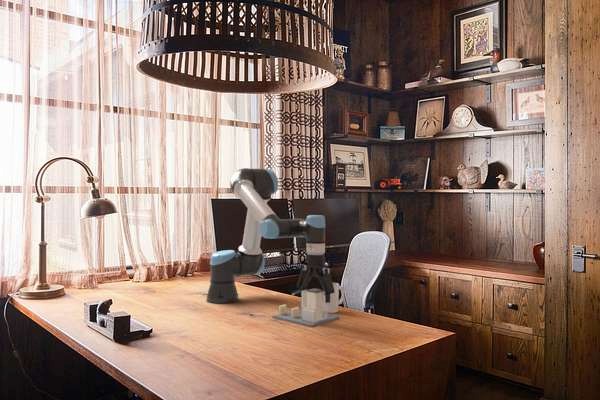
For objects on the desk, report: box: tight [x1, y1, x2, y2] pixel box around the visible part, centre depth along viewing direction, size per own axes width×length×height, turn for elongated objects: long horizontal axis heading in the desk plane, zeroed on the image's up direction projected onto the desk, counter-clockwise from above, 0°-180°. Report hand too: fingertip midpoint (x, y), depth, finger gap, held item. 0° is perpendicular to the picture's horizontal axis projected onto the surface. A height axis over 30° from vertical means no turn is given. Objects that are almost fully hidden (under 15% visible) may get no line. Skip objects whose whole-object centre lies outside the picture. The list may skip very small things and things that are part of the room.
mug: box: [323, 282, 345, 314], centre depth 217 cm, size 10×7×12 cm, turn 116°
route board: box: [271, 304, 340, 328], centre depth 204 cm, size 21×18×5 cm
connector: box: [306, 288, 324, 321], centre depth 198 cm, size 4×4×12 cm
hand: (314, 308), depth 198 cm, fingers open, 10 cm apart
